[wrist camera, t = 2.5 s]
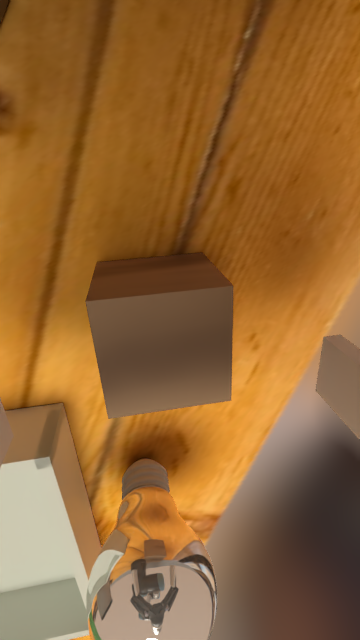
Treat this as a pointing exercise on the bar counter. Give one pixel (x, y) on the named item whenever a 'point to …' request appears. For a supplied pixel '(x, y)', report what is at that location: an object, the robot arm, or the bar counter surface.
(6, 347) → the bar counter surface
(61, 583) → the tray
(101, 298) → the walnut block
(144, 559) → the light bulb
